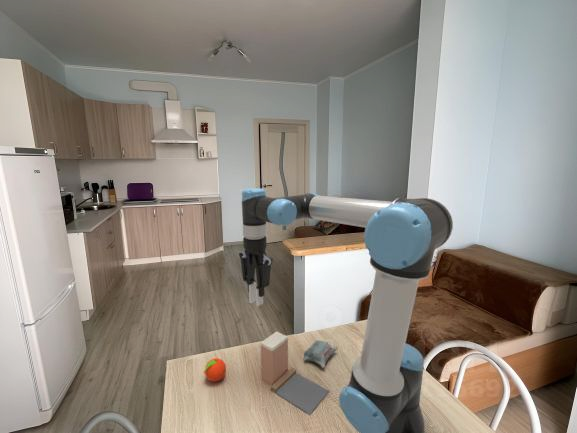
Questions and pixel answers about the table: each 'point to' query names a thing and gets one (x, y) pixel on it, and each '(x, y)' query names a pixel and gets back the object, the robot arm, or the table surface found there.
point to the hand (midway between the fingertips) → (256, 303)
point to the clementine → (215, 369)
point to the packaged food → (319, 352)
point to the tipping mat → (299, 391)
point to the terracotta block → (274, 358)
